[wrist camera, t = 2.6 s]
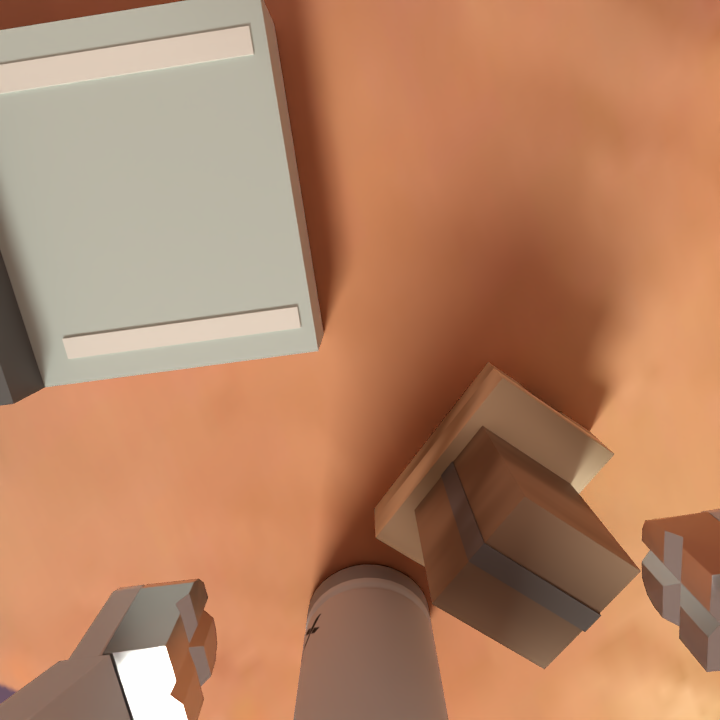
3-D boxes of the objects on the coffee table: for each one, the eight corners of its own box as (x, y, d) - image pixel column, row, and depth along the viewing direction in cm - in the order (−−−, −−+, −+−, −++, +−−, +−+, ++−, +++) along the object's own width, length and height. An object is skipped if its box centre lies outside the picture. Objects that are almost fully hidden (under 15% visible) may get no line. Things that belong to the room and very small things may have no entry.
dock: (274, 24, 19) (246, -41, 14) (323, 333, 22) (314, 363, 17) (-33, 73, 19) (-158, 25, 14) (59, 369, 22) (-19, 408, 18)
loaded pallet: (488, 361, 22) (555, 434, 15) (589, 431, 23) (702, 534, 16) (374, 507, 24) (380, 639, 17) (471, 566, 25) (519, 717, 18)
